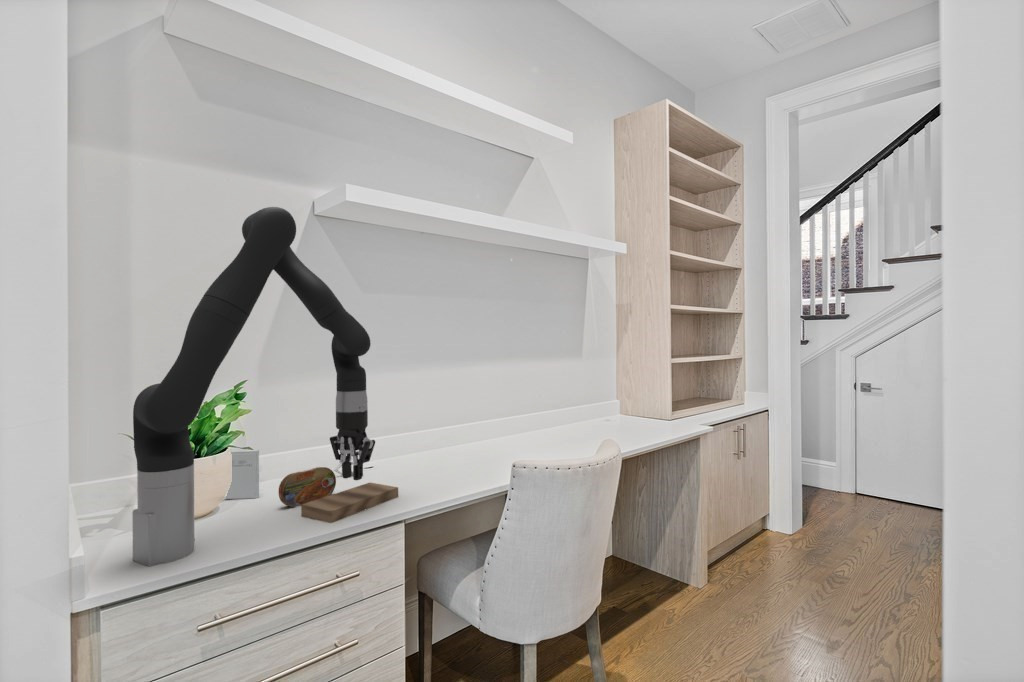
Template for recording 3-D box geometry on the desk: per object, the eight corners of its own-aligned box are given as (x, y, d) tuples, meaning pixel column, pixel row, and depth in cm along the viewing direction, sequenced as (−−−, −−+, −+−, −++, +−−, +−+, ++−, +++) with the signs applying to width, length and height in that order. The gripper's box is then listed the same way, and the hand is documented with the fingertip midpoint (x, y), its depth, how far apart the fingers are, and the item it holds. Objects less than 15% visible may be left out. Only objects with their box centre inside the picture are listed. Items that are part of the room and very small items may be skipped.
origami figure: (327, 476, 161) (327, 460, 161) (350, 471, 168) (350, 455, 168) (351, 483, 154) (351, 466, 154) (374, 477, 160) (374, 460, 160)
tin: (283, 511, 128) (283, 476, 128) (276, 509, 130) (276, 474, 130) (336, 496, 140) (336, 464, 140) (329, 494, 142) (329, 463, 142)
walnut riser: (331, 524, 119) (331, 511, 119) (301, 517, 124) (301, 504, 123) (398, 498, 138) (398, 487, 138) (370, 493, 143) (369, 482, 143)
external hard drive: (227, 497, 140) (227, 450, 140) (259, 496, 141) (259, 449, 141) (224, 499, 138) (224, 451, 138) (257, 498, 139) (256, 451, 139)
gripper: (319, 409, 131) (320, 478, 131) (361, 412, 124) (362, 486, 124) (343, 405, 137) (344, 471, 137) (383, 408, 130) (384, 478, 130)
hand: (352, 478), depth 131 cm, fingers open, 3 cm apart
